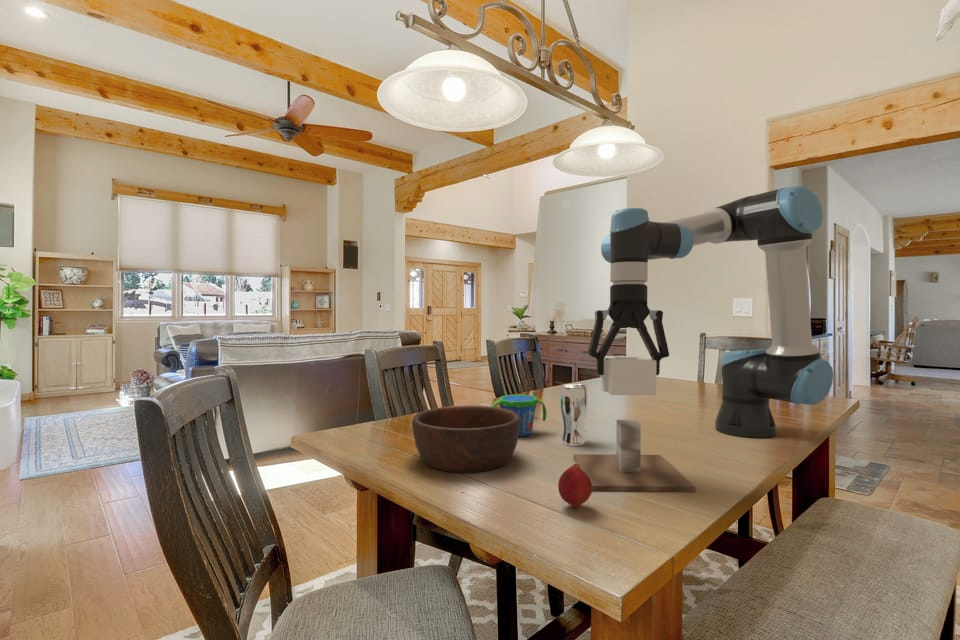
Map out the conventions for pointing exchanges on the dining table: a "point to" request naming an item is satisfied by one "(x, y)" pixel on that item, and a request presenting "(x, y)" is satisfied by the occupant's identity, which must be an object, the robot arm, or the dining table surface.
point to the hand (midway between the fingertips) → (627, 390)
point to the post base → (632, 480)
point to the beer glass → (573, 413)
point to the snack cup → (522, 410)
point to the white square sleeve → (631, 375)
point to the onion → (575, 486)
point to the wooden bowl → (466, 437)
